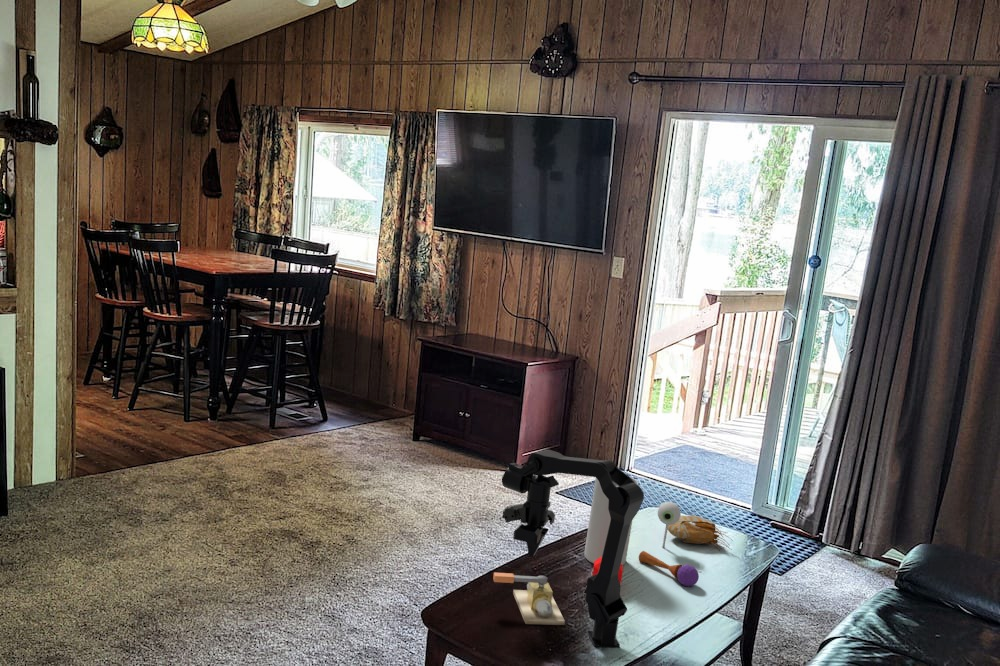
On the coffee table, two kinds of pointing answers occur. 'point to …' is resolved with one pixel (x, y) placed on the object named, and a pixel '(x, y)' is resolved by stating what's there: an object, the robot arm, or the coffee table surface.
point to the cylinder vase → (600, 525)
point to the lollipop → (668, 515)
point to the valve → (540, 599)
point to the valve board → (531, 615)
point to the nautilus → (696, 531)
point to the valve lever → (518, 578)
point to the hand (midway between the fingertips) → (531, 556)
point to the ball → (597, 565)
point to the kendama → (673, 569)
